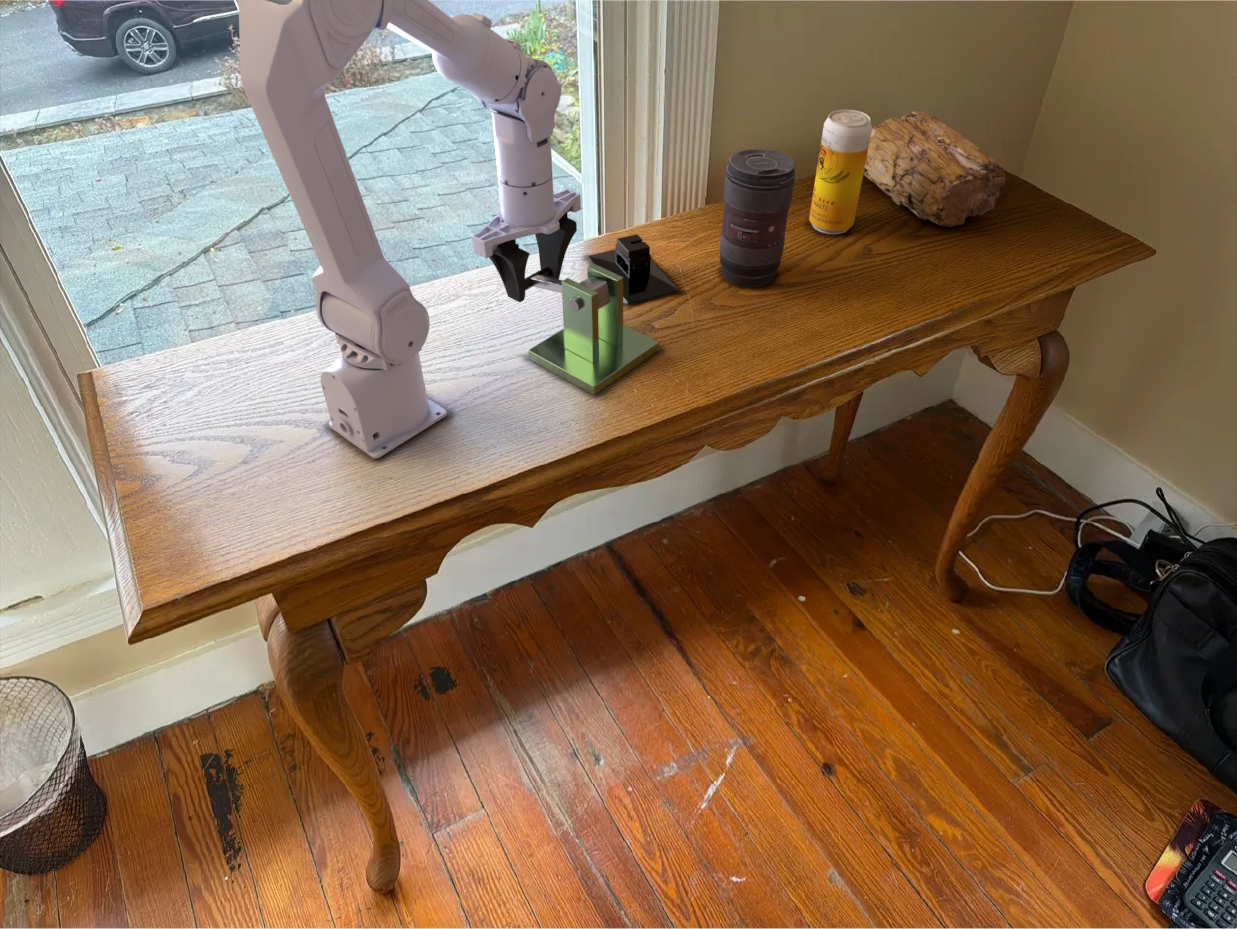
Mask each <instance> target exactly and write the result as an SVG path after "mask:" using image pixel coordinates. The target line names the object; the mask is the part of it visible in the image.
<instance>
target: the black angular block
mask: <svg viewBox="0 0 1237 929" xmlns="http://www.w3.org/2000/svg"><path fill="white" fill-rule="evenodd" d="M650 248H651V247H650V245H648V244H647V242H645V241H643V238H642V237H641V236H640V235H639V234H637V233H636V234H632V235H627V236H621V237H619V238H616V244H615V249H612V250H609V251H604V252H600V253H595V254H591V255H589V256H588V260H589V261H590V263H592V264H595V265H598V266H600V267H602V268H604V269H606V270H608V271H611V272H613V273H615V274H617V275H619V276H621V277H623V304H625V305H628V306H633V305H635V304H640V303H644V302H647V301H648V302H649V301H650V300H652V301H653V300H656V299H658V298H659V299H660V298H663V297H667V296H671V295H675V294H679V293H680V290H679V288H678V287H677V286H676V285H675V284H674V282H673V281H672V280H671V279H670V278H669V277H668V276H667V275H666V274H665V273H664V272H663V271H662V270H661V269H660V268H659V266H658V265H656V263H654V262H653V261H652V260H651V259H652V258H651V253H650V251H651V250H650Z"/></svg>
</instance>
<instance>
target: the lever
mask: <svg viewBox="0 0 1237 929" xmlns="http://www.w3.org/2000/svg"><path fill="white" fill-rule="evenodd" d="M551 276H552V271H551V269H550V268H549V267H545V268H543V269H541V268H540V269H539V270H538V271H536V272H534V273H532V274H531V275H528V276H526V277H525V292H527V290H529V289H531V288H533V287H534V288H537V289H543V290H545V291H550V292H555V293H559V294H562V281H563V280H564V279H560V278H559V279H554V278H550V277H551ZM578 283H579V284H581V285H584V286H586V287H588V288H590V289H592V290H594V291H596V292H598V309H600V308H601V307H603V306H605V305H606V304H608V303H610V296H609V290H608V285H607V282H606V281H601V280H596V279H592V278H588V277H587V278H585V279H584V280H582V281H581V282H578Z"/></svg>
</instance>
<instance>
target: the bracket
mask: <svg viewBox="0 0 1237 929" xmlns="http://www.w3.org/2000/svg"><path fill="white" fill-rule="evenodd" d="M586 270H587V272H586V274H587V275H586V276H587V278H592V279H596V280H601V281H606V282H607V285H608V290H609V296H610V303H608V304H606V305H605V306H603V307H601V308H600V309H598V292H596V291H594V290H592V289H590V288H588V287H586V286H584V285H581V284H579V283H580V282H577V281H575V280H573V279H571V278H569V277H567V278H565V279H562V280H563V281H562V293H561V298H562V299H561V301H562V320H563V321H562V323H563V328H562V329H561V330H559V331H558V332H555V333H554V334H552V335H551V336H549V337H547V338H546V339H544V340H542V341H541V342H539V343H538V344H536V345H535V346H534V345H533V347H531V348H530V349H528V350H527V354H528V356H527V357H528V359H529V360H530V361H531V362H534V363H536V364H537V365H539V366H541V367H543V368H545V369H546V370H548V371H550V372H552V373H553V374H555V375H557V376H559V377H561V378H562V379H564V380H566V381H568V382H569V383H570V384H573V385H575V386H576V387H578V388H580V389H582V390H584V391H586V392H588V393H589V394H591V395H593V396H595V395H597V393H599V392H601V391H602V390H603V389H605V388H606V387H608V386H609V385H611V384H612V383H613V382H615V381H616V380H618V379H619V378H621V377H622V376H624V375H625V374H627V373H628V372H629V371H631V370H632V369H634V368H635V367H637V366H639V365H640V364H641V363H643V362H644V361H645V360H647V359H648V358H650V357H651V356H653V355H654V354H656V353H657V352H658V351H659V349H660V342H659V341H658V340H656V339H654V338H652V337H650V336H649V335H646V334H644V333H642V332H640V331H638V330H636V329H633V328H632V327H629V326H627V325H626V324H624V302H623V277H621V276H619V275H617V274H615V273H613V272H611V271H608V270H606V269H604V268H602V267H600V266H598V265H595V264H593V263H592V264H589V265H588V266H587V267H586Z"/></svg>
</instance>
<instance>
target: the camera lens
mask: <svg viewBox="0 0 1237 929" xmlns="http://www.w3.org/2000/svg"><path fill="white" fill-rule="evenodd" d="M795 167H796V163H795V161H794V160H793V158H791V157H790V156H789V155H787V154H785V153H782V152H780V151H776V150H772V149H764V148H762V149H761V148H754V149H744V150H740V151H738V152H735V153H733V154H732V155H731V156H730V157H729V162H728V164H727V166H726V168H725V169H726V170H725V179H724V181H725V182H724V191H723V206H724V207H723V214H722V215H723V216H722V226H721V231H720V240H719V262H720V266H721V267H722V270H721V273H722V276H723V278H724V279H725V280H726V281H728V283H730V284H732V285H735V286H737V287H741V288H742V287H743V288H759V287H763V286H767V285H768V284H770V283H771V282H772V281H773V280H774V279H775V276H776V271H778V269H779V268H780V266H781V262H782V258H783V257H782V256H783V254H784V250H785V249H784V248H785V240H786V231H787V224H788V217H789V216H788V215H789V209H790V208H791V204H792V200H793V193H794V188H795V179H796V170H795Z"/></svg>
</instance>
